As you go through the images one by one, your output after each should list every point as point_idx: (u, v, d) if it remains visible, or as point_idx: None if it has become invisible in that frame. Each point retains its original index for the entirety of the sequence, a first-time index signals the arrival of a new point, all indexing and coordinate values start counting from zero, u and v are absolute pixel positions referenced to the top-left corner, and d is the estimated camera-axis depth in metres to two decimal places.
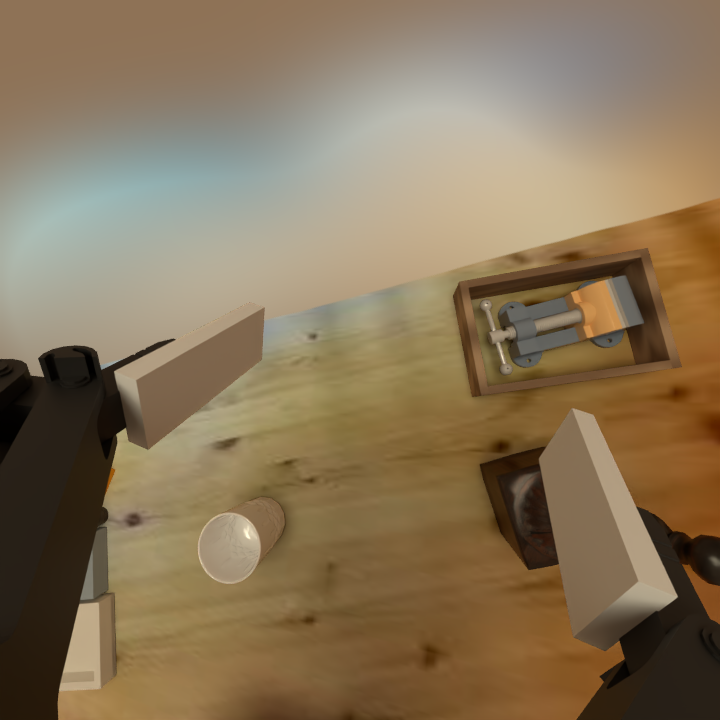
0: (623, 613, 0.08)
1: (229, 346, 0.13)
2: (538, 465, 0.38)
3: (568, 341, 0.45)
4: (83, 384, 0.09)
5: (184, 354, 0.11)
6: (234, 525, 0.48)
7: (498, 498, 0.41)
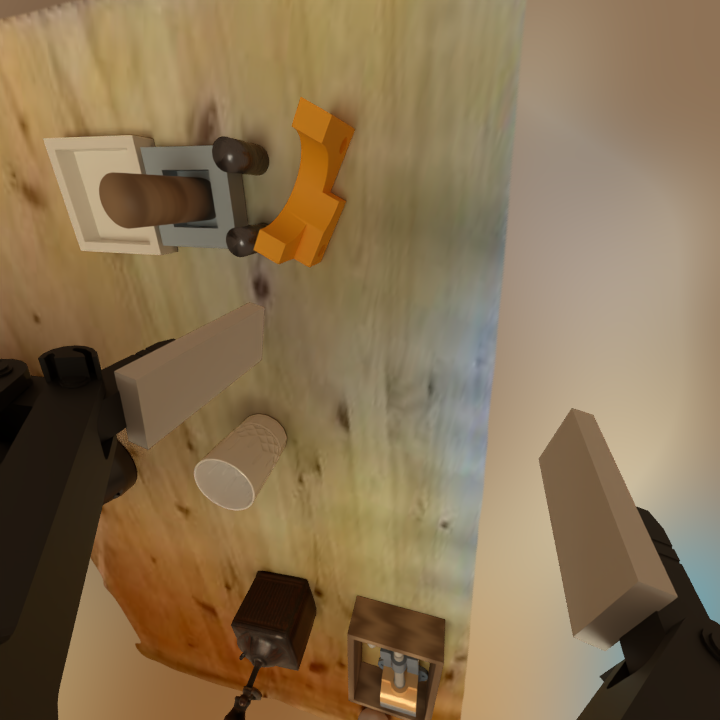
0: (623, 613, 0.08)
1: (229, 346, 0.13)
2: (292, 652, 0.56)
3: (385, 662, 0.62)
4: (83, 384, 0.09)
5: (184, 354, 0.11)
6: None
7: (276, 612, 0.57)
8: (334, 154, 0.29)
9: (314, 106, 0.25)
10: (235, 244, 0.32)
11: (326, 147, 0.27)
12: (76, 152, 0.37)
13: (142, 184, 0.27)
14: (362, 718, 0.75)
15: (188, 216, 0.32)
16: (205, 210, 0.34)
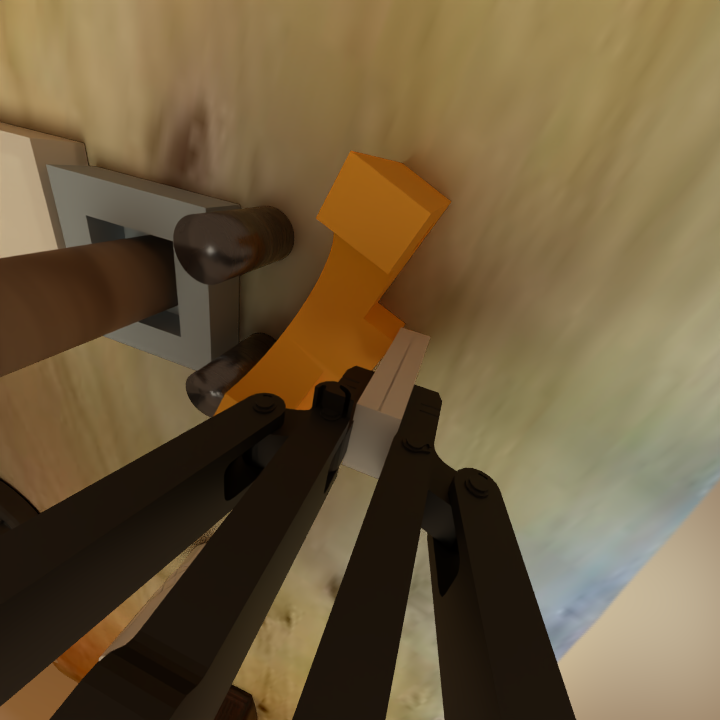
0: (379, 442, 0.11)
1: None
2: None
3: None
4: (335, 420, 0.10)
5: None
6: None
7: None
8: (403, 262, 0.13)
9: (385, 183, 0.09)
10: (202, 396, 0.17)
11: (394, 268, 0.11)
12: None
13: None
14: None
15: (118, 327, 0.16)
16: (160, 306, 0.18)
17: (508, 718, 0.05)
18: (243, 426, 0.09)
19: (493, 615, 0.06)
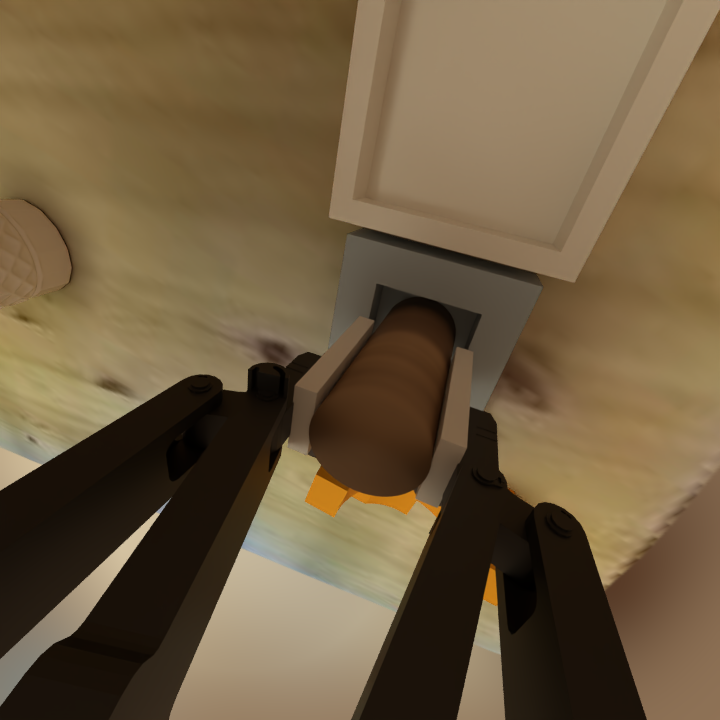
0: (439, 469, 0.10)
1: (354, 358, 0.14)
2: None
3: None
4: (272, 400, 0.10)
5: (336, 368, 0.12)
6: None
7: None
8: None
9: None
10: None
11: None
12: None
13: None
14: None
15: None
16: None
17: None
18: (180, 407, 0.09)
19: (576, 666, 0.06)
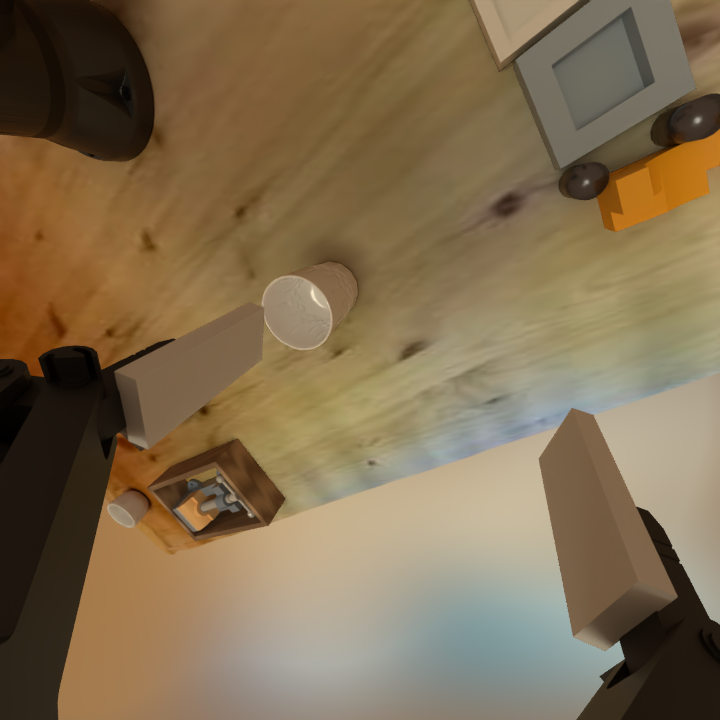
0: (623, 613, 0.08)
1: (229, 346, 0.13)
2: None
3: (204, 489, 0.68)
4: (83, 384, 0.09)
5: (184, 354, 0.11)
6: (346, 284, 0.39)
7: None
8: None
9: None
10: (585, 179, 0.27)
11: None
12: None
13: None
14: (129, 496, 0.79)
15: None
16: None
17: None
18: None
19: None
